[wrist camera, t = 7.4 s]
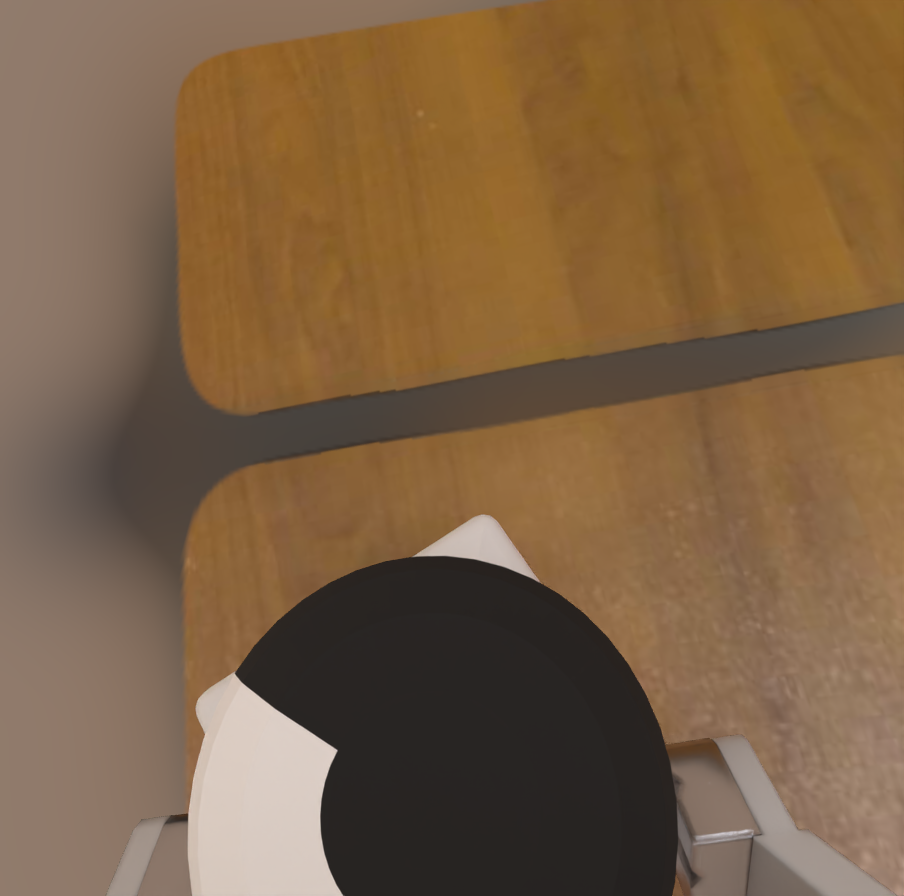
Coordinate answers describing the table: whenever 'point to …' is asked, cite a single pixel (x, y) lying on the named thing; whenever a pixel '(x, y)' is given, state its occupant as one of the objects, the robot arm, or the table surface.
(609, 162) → the table surface
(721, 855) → the robot arm
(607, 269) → the table surface
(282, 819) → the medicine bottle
